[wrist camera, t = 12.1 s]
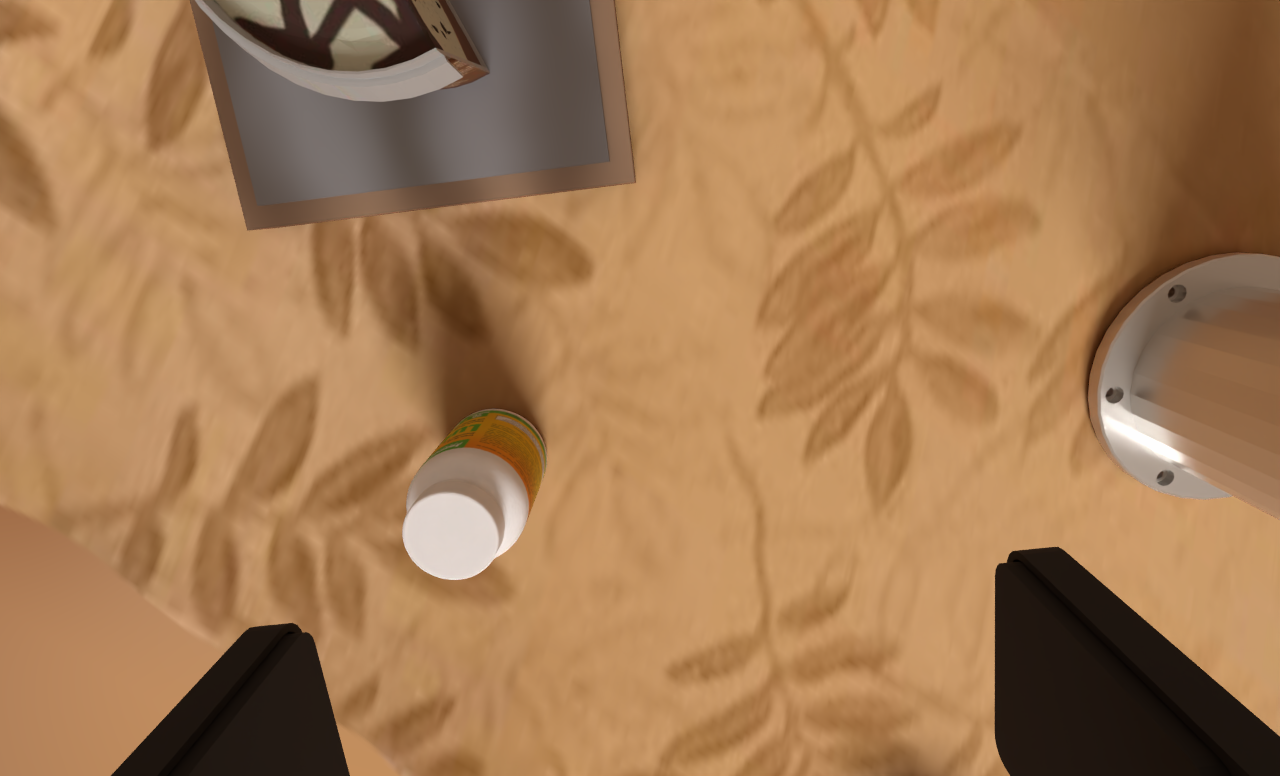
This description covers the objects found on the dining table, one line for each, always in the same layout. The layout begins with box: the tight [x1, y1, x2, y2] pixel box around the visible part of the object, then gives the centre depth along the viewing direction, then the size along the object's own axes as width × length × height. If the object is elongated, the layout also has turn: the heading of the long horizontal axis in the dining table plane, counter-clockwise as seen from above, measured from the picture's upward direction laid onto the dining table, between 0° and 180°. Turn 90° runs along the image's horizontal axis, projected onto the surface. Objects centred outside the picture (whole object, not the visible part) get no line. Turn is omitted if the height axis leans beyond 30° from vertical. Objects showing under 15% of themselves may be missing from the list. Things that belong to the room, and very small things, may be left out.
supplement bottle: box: [402, 409, 547, 580], centre depth 35 cm, size 5×5×10 cm
